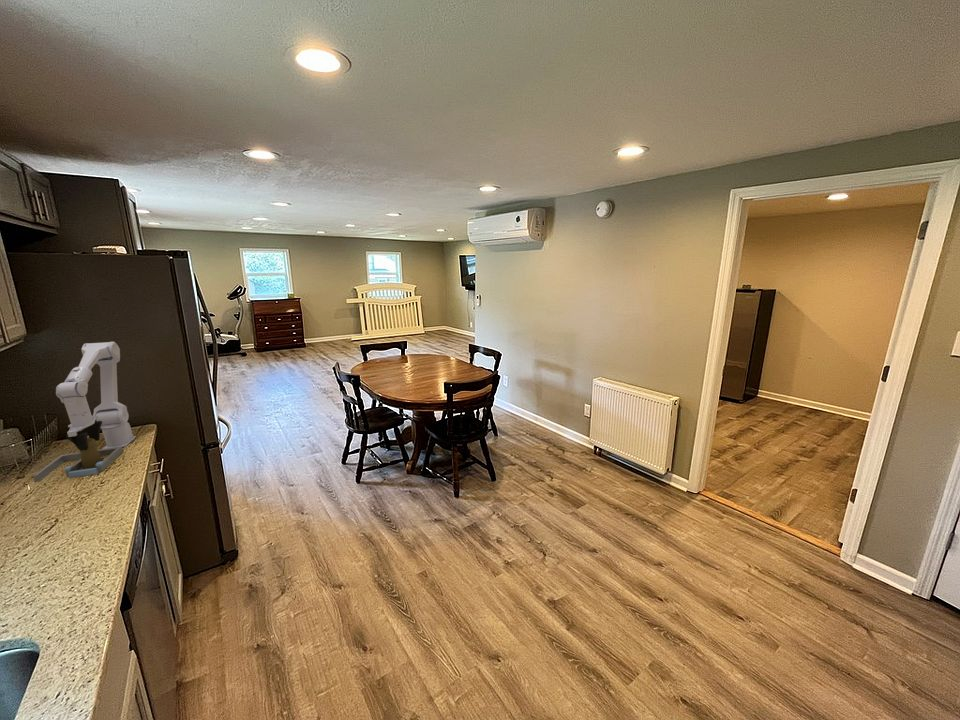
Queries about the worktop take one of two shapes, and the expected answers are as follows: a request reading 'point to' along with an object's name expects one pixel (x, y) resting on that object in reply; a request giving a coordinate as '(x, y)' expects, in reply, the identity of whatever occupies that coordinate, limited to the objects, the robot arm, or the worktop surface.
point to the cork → (90, 455)
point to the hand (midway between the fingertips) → (89, 445)
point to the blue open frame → (79, 464)
